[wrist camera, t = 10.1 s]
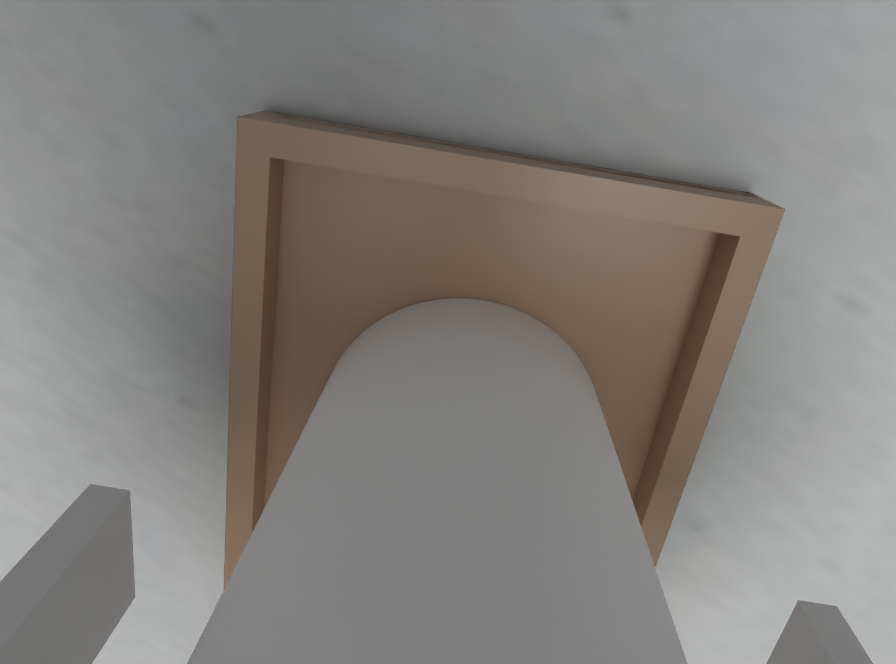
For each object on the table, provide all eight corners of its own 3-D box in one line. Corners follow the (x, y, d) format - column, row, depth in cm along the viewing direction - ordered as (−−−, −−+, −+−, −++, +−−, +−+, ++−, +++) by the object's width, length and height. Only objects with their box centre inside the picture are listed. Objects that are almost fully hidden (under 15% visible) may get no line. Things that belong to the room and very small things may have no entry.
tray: (264, 110, 17) (237, 116, 15) (752, 193, 17) (785, 209, 15) (243, 578, 23) (222, 622, 21) (601, 635, 23) (612, 684, 21)
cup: (272, 444, 20) (-339, 1536, 5) (431, 238, 17) (102, 1304, 2) (482, 578, 21) (476, 1709, 7) (658, 409, 19) (1305, 1692, 4)
